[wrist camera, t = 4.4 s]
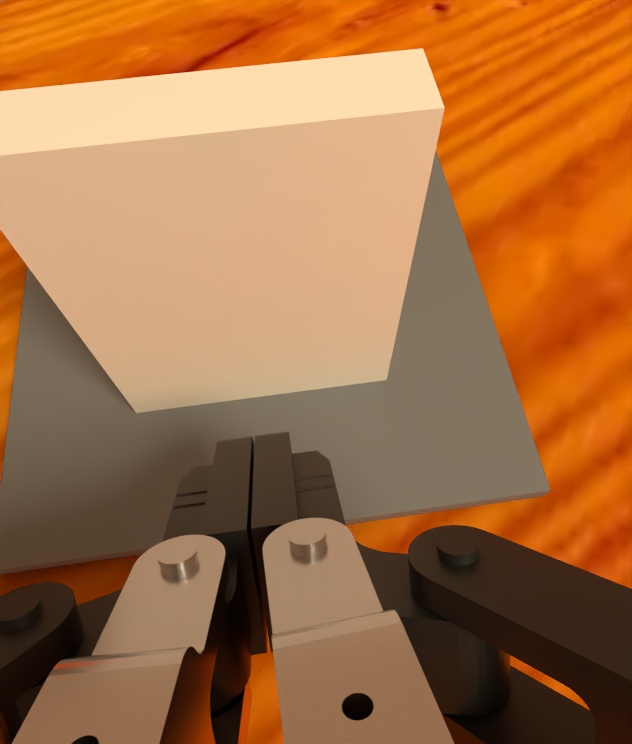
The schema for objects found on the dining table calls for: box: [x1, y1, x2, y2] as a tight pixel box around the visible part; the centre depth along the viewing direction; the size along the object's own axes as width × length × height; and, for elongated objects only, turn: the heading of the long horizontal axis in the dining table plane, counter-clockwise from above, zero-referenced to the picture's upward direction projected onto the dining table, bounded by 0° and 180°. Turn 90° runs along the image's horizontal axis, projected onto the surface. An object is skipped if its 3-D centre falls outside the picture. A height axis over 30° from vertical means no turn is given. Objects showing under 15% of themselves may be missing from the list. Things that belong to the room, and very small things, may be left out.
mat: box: [0, 151, 551, 574], centre depth 21 cm, size 20×16×1 cm
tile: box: [0, 49, 445, 413], centre depth 14 cm, size 8×2×10 cm, turn 98°
